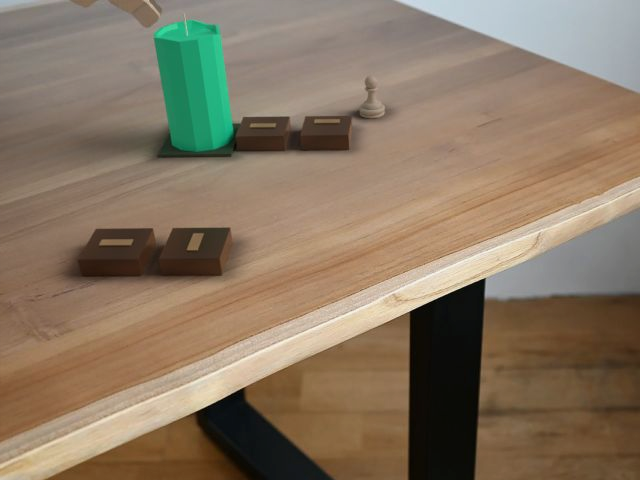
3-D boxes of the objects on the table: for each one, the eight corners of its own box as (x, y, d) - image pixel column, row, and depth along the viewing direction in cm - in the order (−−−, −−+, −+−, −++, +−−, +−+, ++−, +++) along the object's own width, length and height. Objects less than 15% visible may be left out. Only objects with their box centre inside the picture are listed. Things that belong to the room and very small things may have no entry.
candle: (206, 156, 83) (187, 28, 77) (157, 143, 86) (134, 18, 79) (247, 132, 88) (232, 8, 81) (199, 120, 90) (180, -1, 84)
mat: (158, 157, 84) (157, 154, 84) (174, 126, 90) (174, 124, 90) (231, 156, 84) (230, 153, 84) (243, 126, 90) (243, 123, 89)
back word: (237, 151, 85) (235, 135, 84) (244, 130, 89) (243, 115, 88) (349, 150, 84) (348, 134, 84) (352, 129, 88) (351, 114, 87)
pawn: (382, 107, 93) (381, 69, 90) (387, 117, 90) (386, 79, 88) (357, 110, 92) (355, 72, 90) (361, 120, 90) (359, 81, 88)
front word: (81, 276, 67) (76, 258, 67) (99, 244, 71) (95, 227, 70) (222, 275, 67) (219, 257, 66) (232, 243, 71) (230, 226, 70)
